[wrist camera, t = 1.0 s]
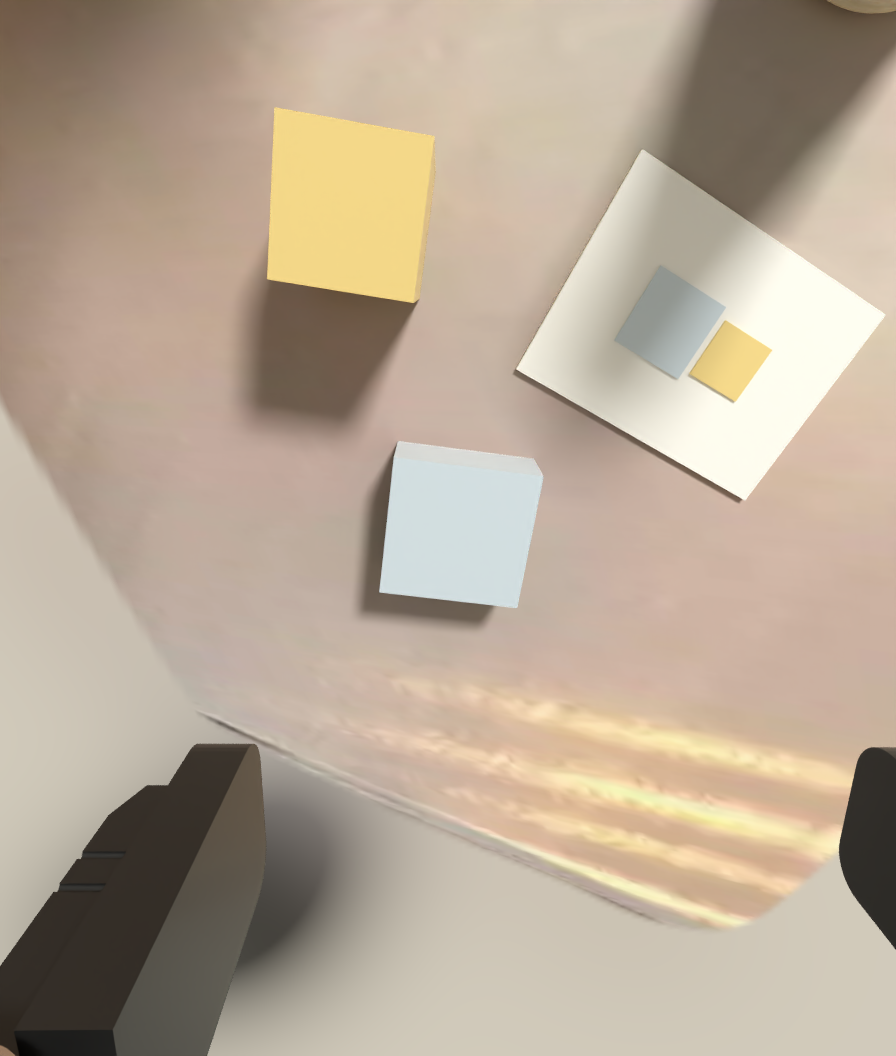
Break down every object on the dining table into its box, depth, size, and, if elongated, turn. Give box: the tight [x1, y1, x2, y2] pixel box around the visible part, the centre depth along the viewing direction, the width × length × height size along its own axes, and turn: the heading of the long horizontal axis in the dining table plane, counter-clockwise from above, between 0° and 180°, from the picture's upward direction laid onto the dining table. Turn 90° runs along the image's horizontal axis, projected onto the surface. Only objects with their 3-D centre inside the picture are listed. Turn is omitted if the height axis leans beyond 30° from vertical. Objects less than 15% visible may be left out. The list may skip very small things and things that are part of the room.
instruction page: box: [516, 149, 885, 500], centre depth 25 cm, size 12×9×1 cm
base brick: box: [379, 441, 544, 608], centre depth 27 cm, size 6×6×3 cm
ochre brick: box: [267, 108, 436, 303], centre depth 21 cm, size 4×4×6 cm
